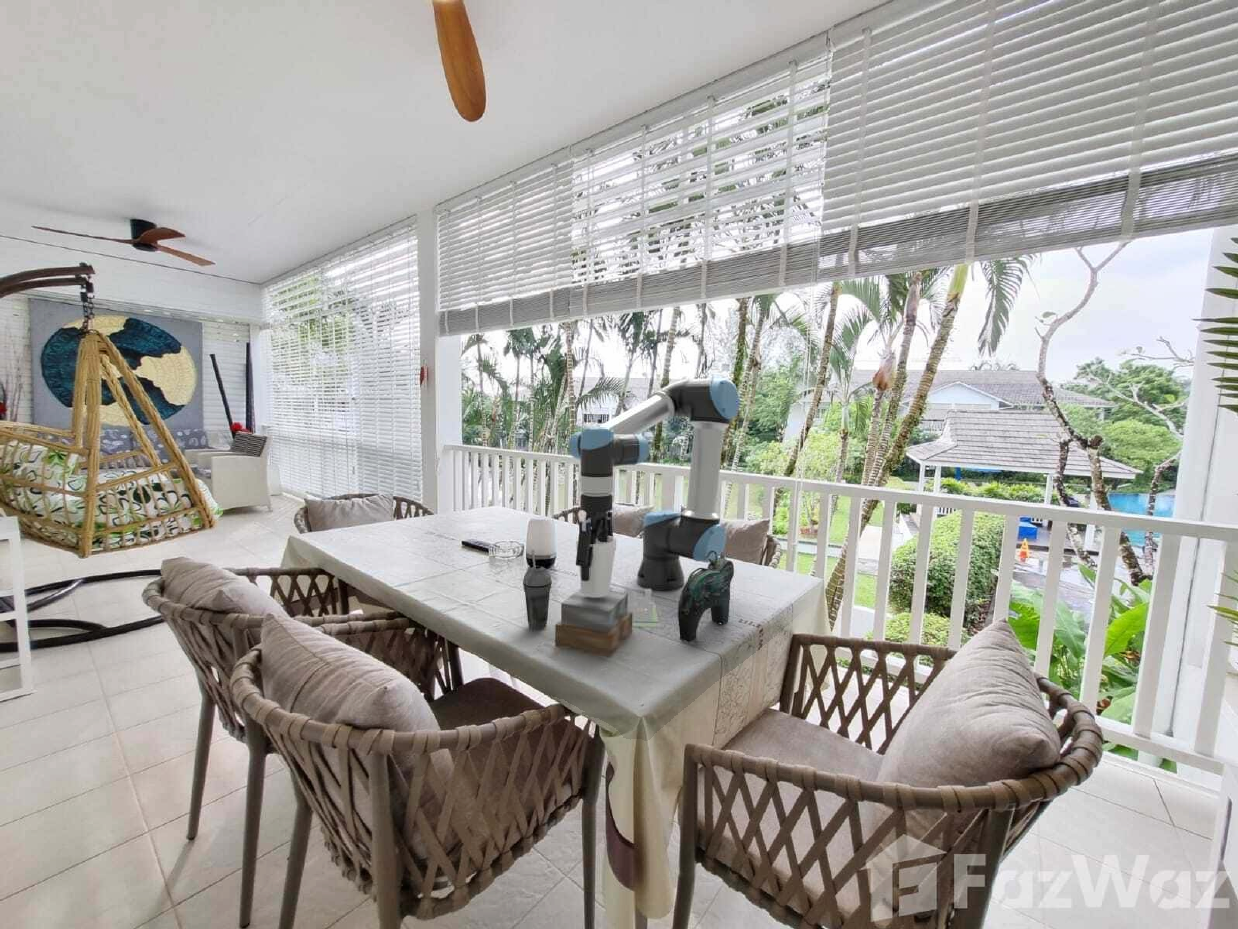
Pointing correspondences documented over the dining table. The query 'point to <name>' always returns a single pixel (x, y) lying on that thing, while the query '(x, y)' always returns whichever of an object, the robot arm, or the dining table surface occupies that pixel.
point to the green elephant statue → (705, 596)
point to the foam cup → (601, 566)
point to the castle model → (642, 608)
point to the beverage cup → (537, 595)
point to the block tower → (594, 623)
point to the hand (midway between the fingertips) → (595, 586)
